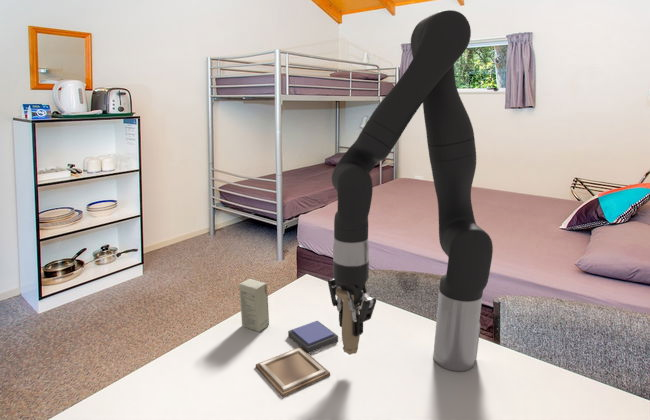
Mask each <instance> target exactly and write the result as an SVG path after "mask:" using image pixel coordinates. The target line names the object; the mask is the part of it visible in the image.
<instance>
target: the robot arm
mask: <svg viewBox="0 0 650 420" xmlns="http://www.w3.org/2000/svg"><path fill="white" fill-rule="evenodd" d="M471 35H472V30H471V25H470V22H469V20H468V19H467V17H466V16H465V14H463V13H461V12H460V11H457V10H454V9H446V10H445V9H444V10H440V11H438V12H435V13H433V14H431V15H429V16H427V17H424V19H422V20H421V21H419V22H418V23H417V24H416V25H415V27H414V28H413V30H412V34H411V35H410V36H411V37H410V52H411V56H412V60H411V61H410V63H409V65H408V67H407V68H406V69H405V72H404V73H403V74H402V76H401V77H400V78H399V80H397V82H396V83H395V84H394V86H393V87H392V88H391V90H390V91H389V92H388V93H387V94H386V95H385V96H384V98H383V99H382V100H381V101H380V102H379V104H378V105H377V107H376V108H375V109H374V111H373V112H372V114H371V115H370V117H369V118H368V120H367V122H366V123H365V125H364V126H363V128H362V129H361V131H360V132H359V135H358V137H357V138H356V139H355V141H353V144H351V145H350V146H349V148H348V149H347V151H346V152H345V153H344V154H343V156H341V158H340V159H339V161H338V162H337V164H336V165H335V167H334V168H333V171H332V174H331V183H332V186H333V187H334V189H335V190H336V192H337V210H336V212H335V213H334V219H333V224H334V225H333V246H332V256H333V257H332V261H333V262H332V271H333V272H332V273H333V274H332V276H333V278H331V279H328V280H327V284H328V288H329V289H328V290H329V294H330V299H331V303H332V306H333V307H336V310H337V312H338V323H339V327H340V328H342V317H343V300H342V299H340V298H338V297H337V296H336V288H337V287H338V286H339V288H338V289H339V290H341V291H344V290H346V294H348V299H349V300H350V302H348V304H349V310H350V311H352V317H353V335H354V336H355V337H357V336H359V335H360V336H361V335H363V333H364V322H367V321H369V320H371V319H372V315H373V314H374V313H373V312H374V309H375V306H376V303H377V299H376V297H375V296H372V297H370V295H369V294H368V292H367V288H366V284H367V281H368V279H369V276H370V244H369V215H370V211H371V207H372V205H371V204H372V199H373V187H374V185H373V178H372V176H371V172H372V170H373V169H374V168H375V166H376V165H377V164H378V163H379V162H382V161H384V160H385V159H386V158H387V157H388V156H389V155H390V154H391V152H392V150H393V149H394V148H395V145H396V144H397V142H398V141H399V139H400V138H401V136H402V135H403V133H404V131H405V130H406V128H407V127H408V125H409V123H410V122H411V120H412V119H413V117H414V116H415V115H416V113H417V112H418V110H419V108H420V107H421V106H422V108H423V109H422V110H423V116H424V123H425V125H424V126H425V133H426V143H427V149H428V157H429V162H430V163H429V164H430V168H431V172H432V173H431V175H432V178H433V179H432V181H433V184H434V190H435V194H436V199H437V209H438V210H437V211H438V213H437V214H438V237H439V238H438V239H439V245H440V248H441V250H442V252H443V253H444V255H446V256H447V257H448V258H447V259H448V261H447V268H446V274H444V275H442V277H441V278H440V280H439V286H438V287H439V289H438V299H437V311H436V324H435V335H434V345H433V360H434V361H435V362H436V363H437V364H438V365H440V366H441V367H442V368H444V369H447V370H450V371H453V372H454V371H455V372H466V371H468V370H469V371H470V370H471V369H472V368H473V367H474V366H475V361H476V360H477V358H478V351H479V350H478V349H479V343H480V342H479V341H480V332H481V322H480V320H481V319H480V317H481V311H482V304H483V303H482V301H483V294H484V293H483V292H484V290H485V289H486V286H488V285H487V284H488V282H489V277H490V273H491V272H490V271H491V266H492V261H493V253H494V246H493V240H492V238H491V236H490V235H489V233H487V232H486V231H485V230H484V229H483V228H482V227H481V226H479V225H477V222H476V219H475V216H474V210H473V204H472V187H473V186H472V185H473V181H474V177H475V174H476V168H477V150H476V149H477V148H476V139H475V133H474V128H473V124H472V121H471V119H470V116H469V114H468V112H467V109H466V107H465V105H464V103H463V101H462V98H461V96H460V94H459V91H458V88H457V87H458V86H457V83H456V82H457V81H456V73H455V63H456V62H457V61H458V60H459V59H460V57H462V55H463V54H464V53H465V51H466V50H467V49H468V47H469V44H470V42H471ZM351 295H354V301H353V299H352V297H351ZM361 297H362V300H360V298H361ZM358 303H359V304H358ZM356 304H358V305H357V306H354V305H356ZM358 310H359V315H357V311H358Z"/></svg>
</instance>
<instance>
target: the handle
mask: <svg viewBox="0 0 650 420" xmlns="http://www.w3.org/2000/svg"><path fill="white" fill-rule="evenodd" d="M338 288H339V286H338V287H337V288H336V295H335V296H336V298H337V297H338V298H340V299H342V300H343V317H342V327H341V341H342V345H343V346H342V349H343V352H344V353H346V354H348V355H353V354H357V353H358V349H359V342H360V336H361V335H359V336H357V337H355V336H354V335H353V317H352V311H350V310H349V304H348V302H350V300H349V299H348V294H346V290H344V291H341V290H339V289H338ZM351 297H352V299H353V301H354V295H351ZM360 300H362V297H361V298H360ZM358 304H359V303H358ZM358 304H356V305H354V306H357V305H358ZM357 315H359V310H358V311H357Z"/></svg>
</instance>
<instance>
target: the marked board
mask: <svg viewBox="0 0 650 420" xmlns="http://www.w3.org/2000/svg"><path fill="white" fill-rule="evenodd" d="M255 368H256V369H257V370H258V371H259V372H260V373H261V374H262V376H263V377H264V378H265V379H266V380H267V381H268V382H269V383H270V384H271V386H272V387H273V388H274V389H275V390H276V391H277V392H278V393H279V395H280V396H282V397H285V396H287V395H290V394H292V393H295V392H296V391H298V390H301V389H303V388H305V387H307V386H309V385H312V384H314V383H316V382H318V381H320V380H322V379H325V378H327V377H329V376H331V372H330V371H328V369H327V368H325V367H324V366H323V365H322V364H321V363H320V362H318V361H317V360H316V359H315V357H313V356H312V355H311V354H310V353H307V352H306V351H305V350H304V349H302V348H301V347H300V346H299V347H297V348H295V349H292V350H289V351H286V352H284V353H281V354H279V355H276V356H273V357H271V358H268V359H266V360H263V361H261V362H258V363H256V364H255Z"/></svg>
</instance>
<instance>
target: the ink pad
mask: <svg viewBox="0 0 650 420" xmlns="http://www.w3.org/2000/svg"><path fill="white" fill-rule="evenodd" d="M287 335H288V337H289V338H290V339H291V340H292V341H293V342H295V344H297V346H299V347H301V348H302V349H304V350H305V351H306V352H307V353H308V354H310V353H313V352H315V351H317V350H320V349H322V348H325V347H327V346H329V345H333V344H334V343H336V342H339V335H338V334H336V333H335V332H334V331H332V330H331V329H330V328H328V327H327V326H325V325H324V324H323V323H322V322H320V321H319V320H315V321H312V322H309V323H306V324H303V325H301V326H299V327H296V328H293V329H290V330H288V333H287Z"/></svg>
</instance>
